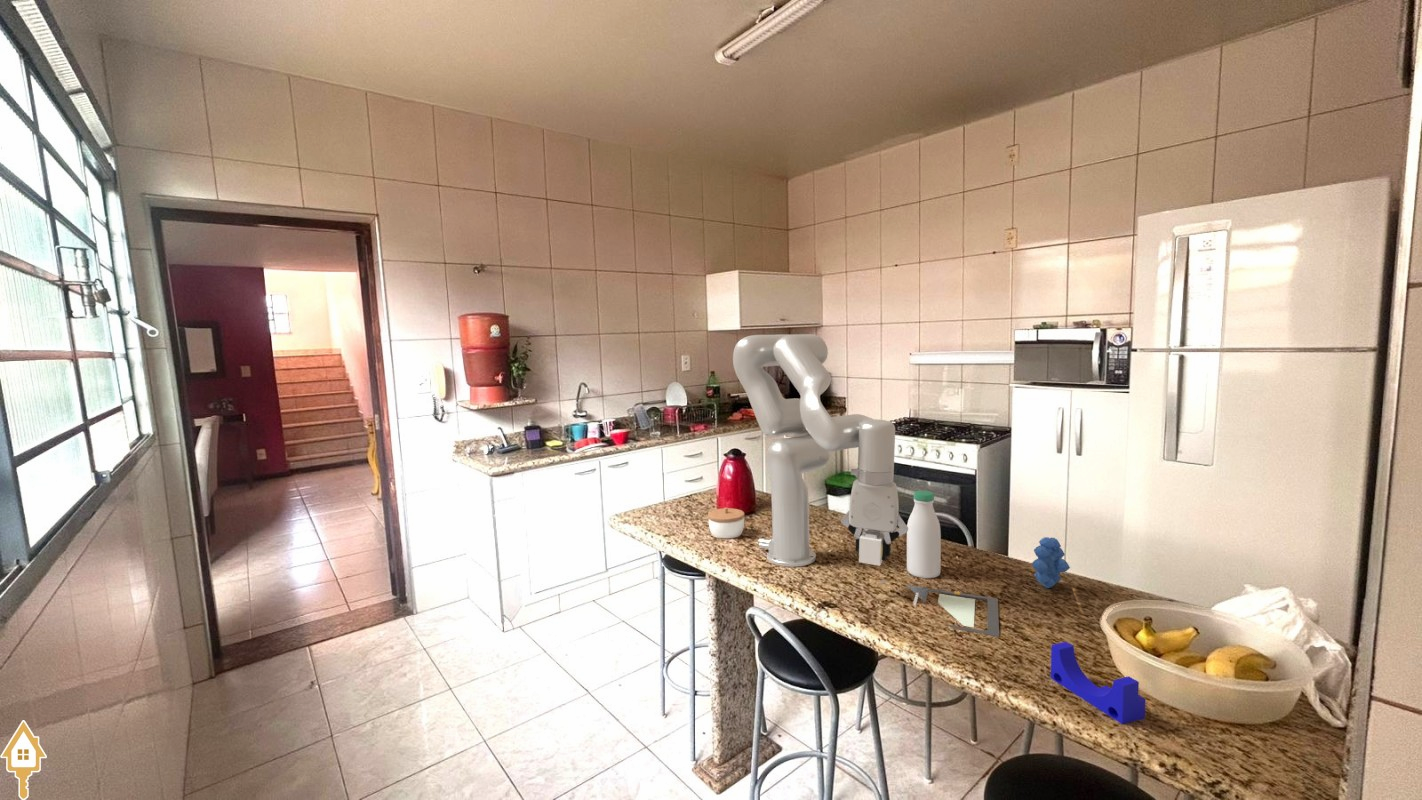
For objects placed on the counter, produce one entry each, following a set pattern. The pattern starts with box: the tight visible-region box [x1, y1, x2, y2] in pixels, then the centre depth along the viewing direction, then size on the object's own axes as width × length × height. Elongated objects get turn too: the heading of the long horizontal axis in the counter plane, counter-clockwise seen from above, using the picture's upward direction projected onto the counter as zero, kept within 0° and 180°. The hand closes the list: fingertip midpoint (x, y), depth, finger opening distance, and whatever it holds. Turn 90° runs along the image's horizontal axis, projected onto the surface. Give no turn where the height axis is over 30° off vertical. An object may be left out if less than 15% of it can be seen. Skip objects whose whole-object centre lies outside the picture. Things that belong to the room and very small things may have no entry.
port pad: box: [937, 593, 976, 629], centre depth 118 cm, size 7×13×1 cm, turn 154°
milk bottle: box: [906, 490, 942, 579], centre depth 136 cm, size 8×8×20 cm
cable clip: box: [1050, 641, 1146, 725], centre depth 88 cm, size 12×4×6 cm, turn 17°
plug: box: [858, 529, 885, 567], centre depth 124 cm, size 5×7×6 cm, turn 154°
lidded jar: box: [707, 507, 745, 539], centre depth 166 cm, size 11×11×9 cm
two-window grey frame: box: [879, 579, 1000, 638], centre depth 121 cm, size 32×17×1 cm, turn 64°
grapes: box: [1031, 536, 1071, 589], centre depth 126 cm, size 12×7×12 cm, turn 126°
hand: (872, 555), depth 125 cm, fingers closed on plug, 4 cm apart
